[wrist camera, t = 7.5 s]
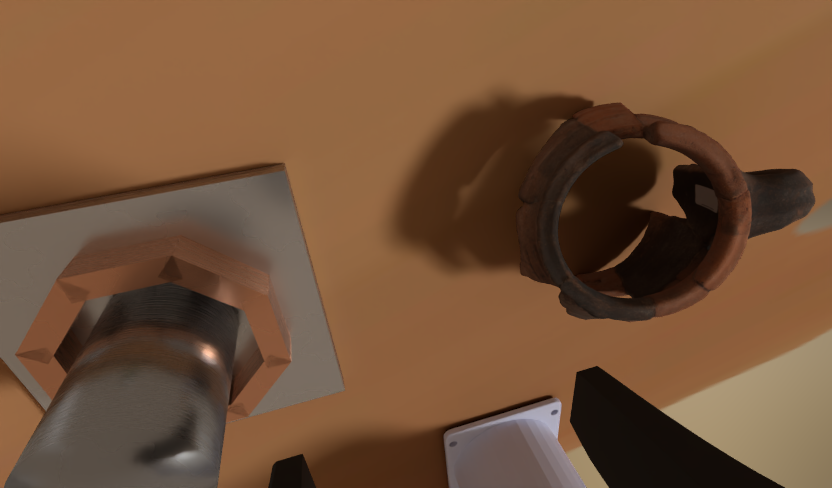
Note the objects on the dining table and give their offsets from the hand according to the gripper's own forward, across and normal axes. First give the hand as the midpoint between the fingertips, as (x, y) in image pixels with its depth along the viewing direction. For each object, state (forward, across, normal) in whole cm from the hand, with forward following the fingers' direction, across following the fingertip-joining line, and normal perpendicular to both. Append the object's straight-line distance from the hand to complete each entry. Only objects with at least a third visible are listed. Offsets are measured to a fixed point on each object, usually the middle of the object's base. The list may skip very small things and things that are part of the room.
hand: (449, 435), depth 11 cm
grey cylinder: (+9, +9, +1) cm, 13 cm away
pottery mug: (+10, -12, 0) cm, 15 cm away
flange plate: (+10, +9, +2) cm, 13 cm away
